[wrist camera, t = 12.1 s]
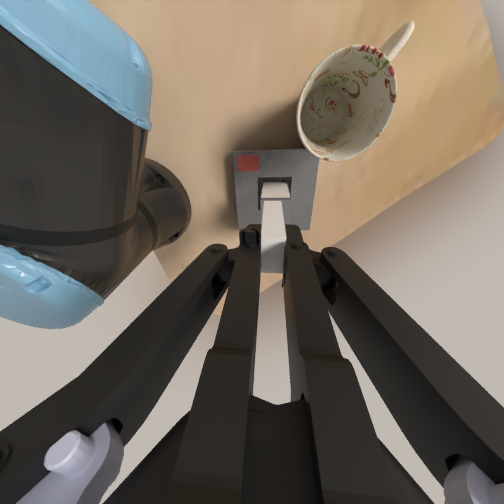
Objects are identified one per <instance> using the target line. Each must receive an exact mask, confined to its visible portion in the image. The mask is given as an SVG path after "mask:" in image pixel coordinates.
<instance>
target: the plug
mask: <svg viewBox="0 0 504 504" xmlns="http://www.w3.org/2000/svg"><path fill="white" fill-rule="evenodd" d="M264 201H281V202H282V210H283V217H284V224H289V221H290V208H291V198H290V194H289V190H288V186H287V182H264V183H263V188H262V194H261V200H260V207H261V224H262V218H263V207H264Z"/></svg>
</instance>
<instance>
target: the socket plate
mask: <svg viewBox="0 0 504 504" xmlns="http://www.w3.org/2000/svg"><path fill="white" fill-rule="evenodd" d="M232 156H233V168H234V181H235V193H236V205H237V218H238V229H244V228H246V226H248V225H249V224H261V207H260V200H261V194H262V188H263V183H264V182H287V186H288V190H289V194H290V198H291V208H290V221H289V224H292V225H297V226H298V227H299V228H300V230H309V229H310V222H311V214H312V207H313V200H314V193H315V186H316V178H317V171H318V164H319V158H317V157H316V156H314V155H312V154H311V153H310V152H309V151H308V150H307V149H306V148H290V149H257V150H234V151H232Z"/></svg>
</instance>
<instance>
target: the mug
mask: <svg viewBox="0 0 504 504" xmlns="http://www.w3.org/2000/svg"><path fill="white" fill-rule="evenodd" d="M413 29H414V22H412V21H411V22H408V23H406V24H405V25H403V26H402V27H401V28H400V29H399V30H397V31H396V32H395V33H394V34H393V35H392V36H391V37H390V38H389V39H388V40H387V41H386V42H385V44H384V45H383V46H382V47H381V48H380V49H379V50H378V49H376V48H374V47H371V46H368V45H351V46H347V47H344V48H341V49H339V50H337V51H335V52H333V53H332V54H330V55H329V56H327V57H326V58H325V59H324V60H323V61H321V62H320V63H319V65H318V66H317V67H316V68H315V69H314V70H313V72H312V73H311V74H310V76H309V77H308V79H307V81H306V83H305V85H304V87H303V89H302V91H301V94H300V97H299V100H298V105H297V111H296V124H297V130H298V134H299V137H300V139H301V141H302V143H303V145H304V146H305V148H306V149H307V150H308V151H309V152H310V153H311V154H312V155H314V156H316V157H317V158H319V159H322V160H326V161H342V160H346V159H349V158H352V157H354V156H356V155H358V154H360V153H362V152H363V151H365V150H366V149H367V148H368V147H370V146H371V145H372V144H373V143H374V142H375V141H376V139H377V138H378V137H379V136H380V135H381V133H382V132H383V130H384V129H385V127H386V125H387V123H388V122H389V119H390V117H391V115H392V112H393V109H394V105H395V101H396V93H397V84H396V77H395V72H394V69H393V67H392V65H391V63H390V61H391V60H392V59H393V58H394V57H395V56H396V54H397V53H398V52H399V51H400V49H401V48H402V47H403V46H404V44H405V43H406V42H407V40H408V39H409V37H410V35H411V34H412V31H413ZM386 52H387V53H386ZM385 53H386V54H385ZM384 54H385V55H384Z"/></svg>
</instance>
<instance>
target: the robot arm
mask: <svg viewBox="0 0 504 504" xmlns="http://www.w3.org/2000/svg"><path fill="white" fill-rule="evenodd" d="M151 94H152V72H151V68H150V65H149V62H148V60H147V58H146V56H145V54H144V52H143V51H142V49H141V48H140V46H139V45H138V44H137V43H136V42H135V40H134V39H133V38H132V37H131V36H130V35H129V34H128V33H127V32H125V31H124V30H123V29H122V28H121V27H120V26H118V25H117V24H116V23H115V22H114V21H113V20H111V19H110V18H109V17H108V16H106V15H105V14H104V13H103V12H102V11H100V10H99V9H98V8H97V7H95V6H94V5H93V4H92V3H91V2H89V1H88V0H0V316H1V317H3V318H6V319H9V320H12V321H15V322H18V323H22V324H25V325H28V326H33V327H38V328H47V329H56V328H57V329H58V328H59V329H60V328H66V327H70V326H73V325H75V324H77V323H79V322H80V321H82V320H83V319H84V318H85V317H86V316H88V315H89V314H90V313H91V312H92V311H93V310H95V309H96V308H97V307H98V306H101V305H102V304H103V303H104V300H105V299H106V298H107V297H108V296H109V295H110V294H111V293H112V292H113V291H114V290H115V289H116V288H117V286H118V285H119V284H120V283H121V282H122V281H123V280H124V279H125V278H126V277H127V276H128V275H129V274H130V273H131V272H132V271H133V270H134V269H135V268H136V266H138V265H139V264H140V263H141V262H142V260H143V259H144V258H145V257H146V256H147V255H148V254H149V253H150V252H151V251H152V250H155V249H157V248H160V247H163V246H165V245H168V244H170V243H172V242H174V241H175V240H177V239H178V238H179V237H180V236H181V235H182V234H183V233H184V231H185V230H186V229H187V227H188V225H189V223H190V219H191V205H190V200H189V197H188V195H187V192H186V190H185V189H184V187H183V185H182V184H181V182H180V181H179V180H178V179H177V177H176V176H175V175H174V174H173V173H172V172H171V171H169V170H168V169H167V168H166V167H164V166H163V165H161V164H159V163H157V162H155V161H153V160H150V159H147V158H145V152H146V144H147V137H148V131H150V130H151V128H152V124H151V122H150V121H149V120H150V107H151ZM239 237H240V245H239V247H237V248H234V249H229V250H228V249H227V246H225V245H223V244H213V245H210V246H208V247H207V248H206V249H205V250H204V251H203V252H202V253H201V254H200V255H199V256H198V257H197V258H196V259H195V260H194V261H193V262H192V263H191V264H190V265H189V266H188V267H187V268H186V269H185V270H184V271H183V272H182V273H181V274H180V275H179V276H178V277H177V278H176V279H175V280H174V281H173V282H172V283H171V284H170V285H169V286H168V287H167V288H166V289H165V290H164V291H163V292H162V293H161V294H160V295H159V296H158V297H157V298H156V299H155V300H154V301H153V302H152V303H151V304H150V305H149V306H148V307H147V308H146V309H145V310H144V311H143V312H142V313H141V314H140V315H139V316H138V317H137V318H136V319H135V320H134V321H133V322H132V323H131V324H130V325H129V326H128V327H127V328H126V329H125V330H124V331H123V332H122V333H121V334H120V335H119V336H118V337H117V338H116V339H115V340H114V341H113V342H112V343H111V344H110V345H109V346H108V347H107V348H106V349H105V350H104V351H103V352H102V353H101V354H100V355H99V356H98V357H97V358H96V359H95V360H94V361H93V362H92V363H91V364H90V365H89V366H88V367H87V368H86V370H85V371H83V372H82V373H81V374H80V375H79V376H78V377H77V378H75V379H74V380H73V381H71V382H70V383H68V384H67V385H65V386H64V387H63V388H61V389H60V390H59V391H57V392H55V393H54V394H53V395H51V396H50V397H48V398H47V399H46V400H44V401H43V402H41V403H40V404H39V405H37V406H36V407H34V408H33V409H31V410H30V411H29V412H27V413H26V414H25V415H23V416H22V417H20V418H19V419H18V420H16V421H14V422H13V423H12V424H10V425H9V426H7V427H6V428H5V429H3V430H2V431H0V504H99V502H100V500H101V498H102V496H103V495H104V493H105V492H106V490H107V489H108V487H109V486H110V485H111V484H112V483H113V482H114V481H115V479H116V478H117V476H118V474H119V471H120V467H121V463H122V460H123V456H124V446H125V445H126V444H127V443H128V442H129V441H130V440H131V438H132V437H133V436H134V434H135V433H136V432H137V431H138V429H139V428H140V427H141V425H142V424H143V423H144V421H145V420H146V418H147V417H148V415H149V414H150V412H151V411H152V409H153V408H154V406H155V405H156V403H157V402H158V400H159V398H160V396H161V395H162V393H163V392H164V390H165V389H166V387H167V385H168V384H169V382H170V381H171V379H172V377H173V376H174V374H175V372H176V371H177V369H178V368H179V366H180V364H181V363H182V361H183V359H184V358H185V356H186V355H187V353H188V351H189V350H190V348H191V347H192V345H193V343H194V342H195V340H196V338H197V337H198V335H199V334H200V332H201V330H202V329H203V327H204V326H205V324H206V322H207V321H208V319H209V317H210V316H211V314H212V313H213V311H214V309H215V308H216V306H217V305H218V303H219V301H220V300H221V298H222V296H223V295H224V293H225V292H226V290H227V288H228V287H229V288H228V292H227V295H226V299H225V303H224V307H223V311H222V315H221V319H220V323H219V327H218V330H217V334H216V338H215V342H214V345H213V347H212V349H209V350H208V352H207V355H206V358H205V361H204V365H203V368H202V371H201V372H202V373H201V375H200V379H199V382H198V386H197V389H196V393H195V397H194V400H193V404H192V407H191V410H190V411H189V412H188V413H187V414H185V416H183V417H182V418H181V419H180V420H179V421H178V422H177V423H176V424H175V426H174V427H172V429H171V430H170V431H169V432H168V433H167V434H166V435H165V436H164V437H163V438H162V439H161V441H160V442H159V443H158V444H157V445H156V446H155V447H154V448H153V449H152V451H151V452H150V453H149V454H148V455H147V456H146V457H145V458H144V459H143V460H142V461H141V462H140V463H139V465H138V466H137V467H136V468H135V469H134V470H133V471H132V472H131V473H130V474H129V476H128V477H127V478H126V479H125V480H124V481H123V482H122V483H121V484H120V485H119V487H118V488H117V489H116V490H115V491H114V492H113V493H112V494H111V495H110V497H108V498H107V500H106V501H105V502H104V503H103V504H434V503H433V501H432V500H431V499H430V498H429V497H428V496H427V495H426V493H425V492H424V491H423V490H422V489H421V487H420V486H419V485H418V484H417V483H416V482H415V481H414V479H413V478H412V477H411V476H410V475H409V473H408V472H407V471H406V470H405V469H404V468H403V466H402V465H401V464H400V463H399V462H398V461H397V459H396V458H395V457H394V456H393V455H392V453H391V452H390V451H389V450H388V449H387V448H386V446H385V445H384V444H383V443H382V442H381V441H380V440H379V439H378V438H377V435H376V433H375V429H374V426H373V424H372V421H371V418H370V415H369V412H368V409H367V406H366V403H365V400H364V397H363V394H362V391H361V388H360V385H359V382H358V380H357V376H356V374H355V371H354V368H353V366H352V364H351V362H350V361H349V360H348V359H345V358H343V357H342V355H341V352H340V349H339V346H338V343H337V339H336V336H335V333H334V329H333V326H332V323H331V319H330V316H329V313H330V314H331V316H332V317H333V319H334V321H335V322H336V324H337V326H338V327H339V329H340V331H341V332H342V334H343V336H344V337H345V339H346V340H347V342H348V344H349V345H350V347H351V349H352V350H353V352H354V354H355V355H356V357H357V358H358V360H359V362H360V363H361V365H362V367H363V368H364V370H365V372H366V373H367V375H368V376H369V378H370V380H371V381H372V383H373V385H374V386H375V388H376V390H377V391H378V393H379V394H380V396H381V398H382V399H383V401H384V403H385V404H386V406H387V408H388V409H389V411H390V412H391V414H392V416H393V417H394V419H395V421H396V422H397V424H398V426H399V427H400V429H401V431H402V432H403V433H404V435H405V437H406V438H407V440H408V441H409V443H410V444H411V446H412V447H413V449H414V450H415V452H416V453H417V455H418V456H419V457H420V458H421V460H422V461H423V463H424V464H425V465H426V467H427V468H428V469H429V471H430V472H431V473H432V475H433V476H434V477H435V478H436V480H437V481H438V482H439V483H440V484H441V486H442V487H443V488H444V495H445V498H446V499H445V504H504V408H503V407H502V406H501V405H500V404H499V403H498V402H497V401H496V400H495V399H494V398H493V397H492V396H491V395H490V394H489V393H488V392H487V391H486V390H485V389H484V388H483V387H482V386H481V385H480V384H479V383H478V382H477V381H476V380H475V379H474V378H473V377H471V375H470V374H469V373H468V372H466V371H465V369H463V368H462V367H461V366H460V365H459V364H458V363H457V362H456V361H455V360H454V359H453V358H452V357H451V356H450V355H449V354H448V353H447V352H446V351H445V350H444V349H443V348H442V347H441V346H440V345H439V344H438V343H437V342H436V341H435V340H434V339H433V338H432V337H431V336H430V335H429V334H428V333H427V332H426V331H425V330H423V328H422V327H421V326H419V325H418V324H417V323H416V322H415V321H414V320H413V319H412V318H411V317H410V316H409V315H408V314H407V313H406V312H405V311H404V310H403V309H402V308H401V307H400V306H399V305H398V304H397V303H396V302H395V301H394V300H393V299H392V298H391V297H390V296H389V295H387V293H386V292H384V290H383V289H382V288H381V287H379V286H378V284H376V283H375V282H374V281H373V280H372V279H371V278H370V277H369V276H368V275H367V274H366V273H365V272H364V271H363V270H362V269H361V268H360V267H359V266H358V265H357V264H356V263H355V262H354V261H353V260H352V259H351V258H350V257H349V256H348V255H347V254H346V253H345V252H344V251H342V250H340V249H338V248H334V247H326V248H324V249H322V252H321V253H320V252H315V251H312V250H310V249H309V247H308V245H307V244H306V243H304V242H303V238H302V235H301V232H300V228H299V227H298V226H297V225H292V224H284V217H283V210H282V202H281V201H264V207H263V218H262V224H249V225H248V226H246V228H244V229H242V230H240V232H239ZM260 272H265V273H283V280H282V287H283V288H284V301H285V316H286V328H287V342H288V356H289V370H290V383H291V402H289V403H285V404H281V405H275V404H272V403H270V402H267V401H265V400H262V399H260V398H258V397H255V396H253V382H254V367H255V352H256V335H257V320H258V306H259V290H260ZM328 311H329V313H328Z"/></svg>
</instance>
